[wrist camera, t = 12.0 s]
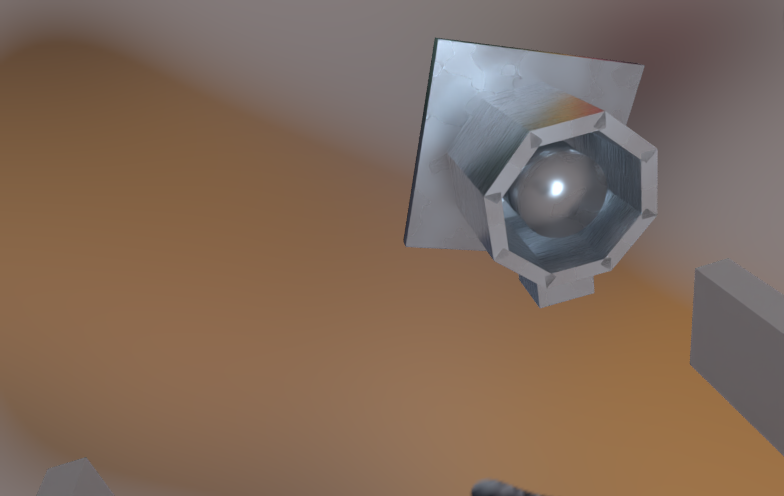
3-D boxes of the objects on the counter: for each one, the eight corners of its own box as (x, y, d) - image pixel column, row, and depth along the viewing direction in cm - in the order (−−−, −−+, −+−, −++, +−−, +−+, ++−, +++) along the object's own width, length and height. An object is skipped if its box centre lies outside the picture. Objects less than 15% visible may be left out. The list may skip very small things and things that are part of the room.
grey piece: (438, 109, 31) (475, 145, 24) (585, 70, 31) (657, 96, 25) (469, 275, 36) (506, 339, 30) (594, 240, 36) (656, 297, 30)
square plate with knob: (403, 241, 35) (426, 298, 29) (435, 37, 30) (471, 55, 24) (579, 250, 37) (634, 305, 31) (636, 63, 32) (716, 85, 26)
